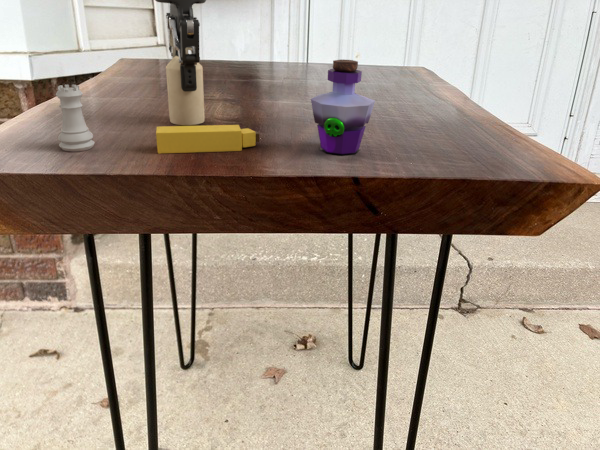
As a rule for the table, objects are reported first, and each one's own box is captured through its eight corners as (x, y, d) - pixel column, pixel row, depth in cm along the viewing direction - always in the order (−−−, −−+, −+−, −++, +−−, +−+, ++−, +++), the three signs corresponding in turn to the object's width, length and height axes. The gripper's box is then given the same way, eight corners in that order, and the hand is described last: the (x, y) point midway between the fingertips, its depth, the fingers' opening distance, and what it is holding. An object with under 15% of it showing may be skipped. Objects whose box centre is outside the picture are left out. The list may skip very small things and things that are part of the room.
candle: (209, 118, 87) (206, 55, 82) (197, 126, 82) (194, 60, 77) (177, 116, 87) (173, 53, 83) (164, 124, 82) (159, 57, 78)
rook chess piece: (59, 143, 71) (50, 83, 68) (95, 141, 73) (87, 82, 69) (58, 153, 68) (47, 90, 64) (95, 150, 69) (87, 89, 66)
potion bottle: (309, 158, 69) (313, 63, 64) (307, 140, 77) (310, 54, 72) (375, 160, 69) (384, 65, 64) (366, 141, 77) (373, 56, 72)
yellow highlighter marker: (157, 153, 69) (156, 132, 68) (158, 146, 72) (156, 125, 71) (261, 150, 72) (261, 130, 70) (257, 143, 75) (257, 123, 74)
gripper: (145, -35, 80) (154, 79, 87) (158, -35, 68) (168, 97, 75) (194, -33, 82) (200, 78, 90) (216, -33, 70) (220, 95, 77)
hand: (185, 86), depth 82 cm, fingers closed on candle, 5 cm apart
